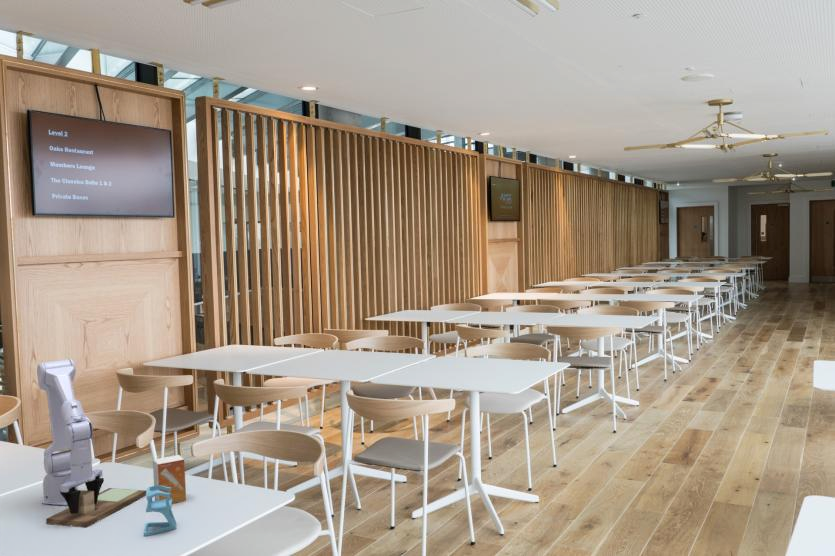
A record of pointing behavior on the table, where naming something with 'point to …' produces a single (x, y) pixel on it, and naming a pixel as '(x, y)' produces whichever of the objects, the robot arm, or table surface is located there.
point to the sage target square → (115, 495)
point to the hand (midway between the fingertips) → (84, 508)
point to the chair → (159, 509)
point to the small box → (170, 477)
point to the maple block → (86, 502)
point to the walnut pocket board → (100, 511)
